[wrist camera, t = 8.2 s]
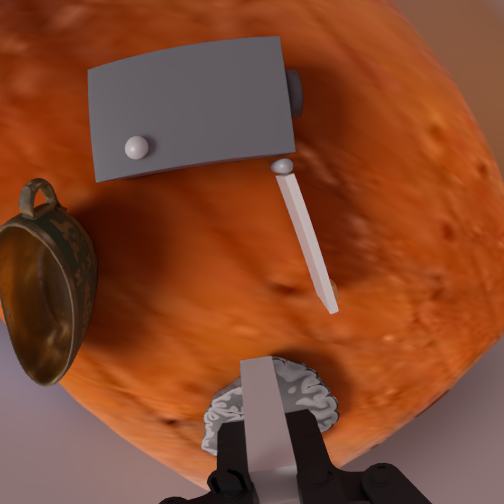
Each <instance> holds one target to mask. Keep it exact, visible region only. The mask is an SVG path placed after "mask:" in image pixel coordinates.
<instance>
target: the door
mask: <svg viewBox="0 0 504 504" xmlns="http://www.w3.org/2000/svg"><path fill="white" fill-rule="evenodd" d="M292 169H293V163H292V161H291V160H290V159H287V158H285V159H281V160H277V161H273V162H271V164H270V170H271V171H272V172H273V173H282V174H280V175H277V176H276V179H277V181H278V184H279V187H280V189H281V192H282V195H283V197H284V200H285V203H286V206H287V209H288V211H289V214H290V217H291V220H292V223H293V225H294V228H295V231H296V234H297V237H298V240H299V243H300V245H301V248H302V251H303V254H304V257H305V260H306V263H307V266H308V269H309V272H310V275H311V278H312V281H313V284H314V287H315V290H316V293H317V295H318V296H319V298H320V299H321V301H322V302H323V304H324V305H325V306H326V308H327V309H328V311H329V312H330V314H333V313H335V312H337V311H339V310H338V307H337V303H336V300H337V299H340V297H339V294H338V290H337V287H336V284H335V283H334V282H333V281H332V280H331V279H329V276H328V273H327V270H326V267H325V264H324V260H323V257H322V254H321V251H320V248H319V245H318V242H317V239H316V236H315V232H314V229H313V226H312V223H311V221H310V218H309V215H308V212H307V209H306V206H305V203H304V200H303V197H302V194H301V192H300V189H299V186H298V183H297V180H296V178H295V175H294V173H289V172H291V171H292Z"/></svg>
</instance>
